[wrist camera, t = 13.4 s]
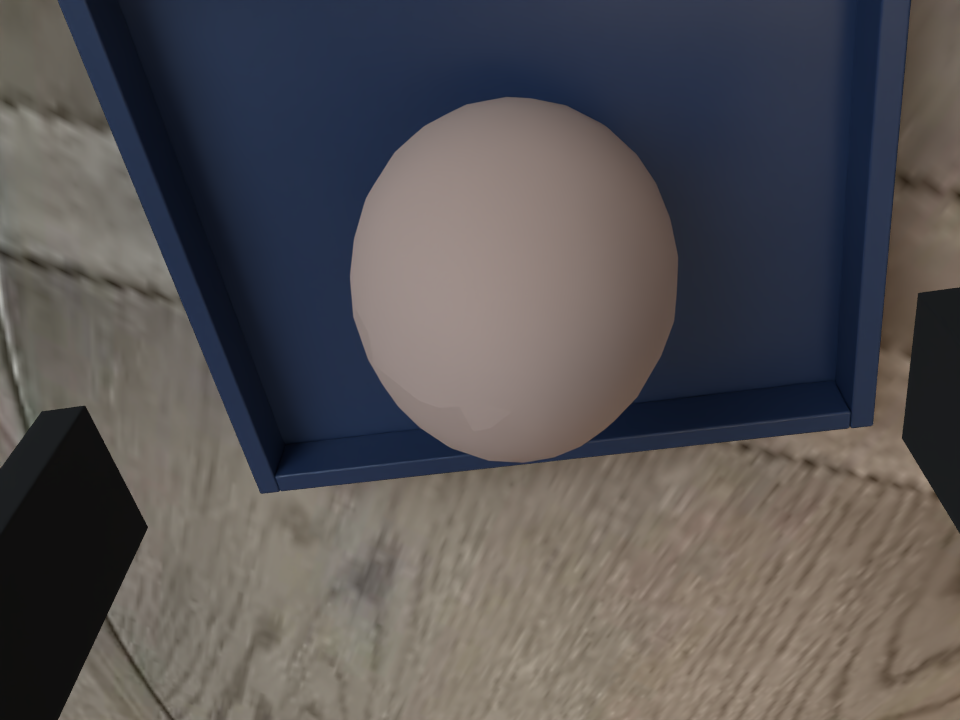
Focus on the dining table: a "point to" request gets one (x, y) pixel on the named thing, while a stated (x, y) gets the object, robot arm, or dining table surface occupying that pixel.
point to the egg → (514, 278)
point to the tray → (523, 74)
